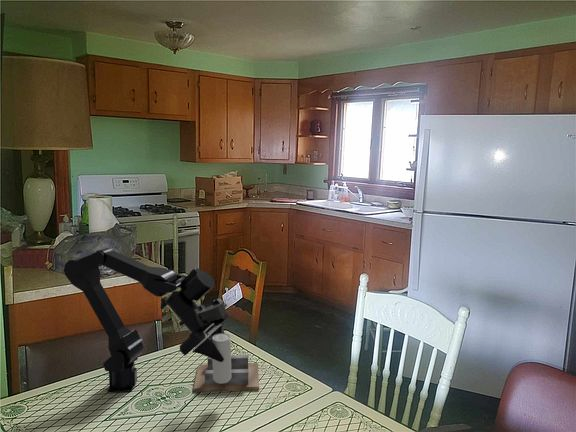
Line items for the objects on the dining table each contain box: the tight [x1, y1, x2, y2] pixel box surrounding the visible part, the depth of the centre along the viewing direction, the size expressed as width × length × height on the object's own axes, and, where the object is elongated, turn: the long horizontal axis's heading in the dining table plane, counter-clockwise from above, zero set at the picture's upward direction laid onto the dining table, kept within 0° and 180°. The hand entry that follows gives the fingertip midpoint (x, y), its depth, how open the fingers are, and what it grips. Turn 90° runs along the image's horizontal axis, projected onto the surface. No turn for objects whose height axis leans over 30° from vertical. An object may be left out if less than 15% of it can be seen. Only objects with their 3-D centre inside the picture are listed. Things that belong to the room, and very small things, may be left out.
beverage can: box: [212, 332, 232, 384], centre depth 121 cm, size 5×5×12 cm
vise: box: [193, 354, 260, 393], centre depth 136 cm, size 18×15×4 cm
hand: (226, 356), depth 120 cm, fingers closed on beverage can, 5 cm apart
